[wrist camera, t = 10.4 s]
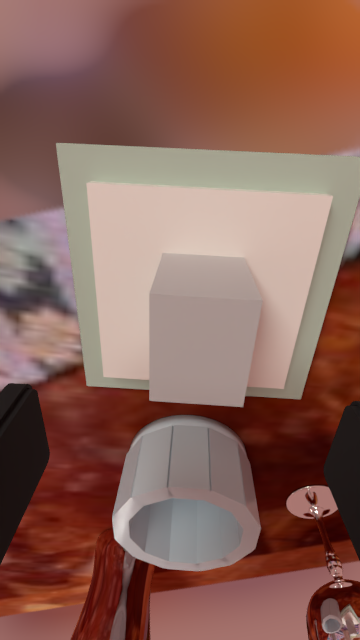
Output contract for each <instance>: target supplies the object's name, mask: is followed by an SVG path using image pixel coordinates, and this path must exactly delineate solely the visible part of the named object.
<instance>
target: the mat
mask: <svg viewBox="0 0 360 640" xmlns="http://www.w3.org/2000/svg"><path fill="white" fill-rule="evenodd" d="M56 147H57V156H58V163H59V171H60V179H61V187H62V194H63V203H64V211H65V218H66V226H67V234H68V242H69V250H70V258H71V266H72V273H73V281H74V289H75V297H76V305H77V313H78V321H79V328H80V336H81V344H82V352H83V360H84V368H85V375H86V383H87V386H98V387H114V388H129V389H145V390H149V380H140V379H125V378H110V377H103V366H102V354H101V343H100V332H99V321H98V309H97V298H96V287H95V275H94V264H93V253H92V242H91V230H90V219H89V208H88V196H87V185H86V183H88V182H91V181H95V182H114V183H133V184H151V185H170V186H189V187H208V188H227V189H245V190H264V191H283V192H302V193H321V194H329V195H332V196H333V199H332V203H331V207H330V211H329V215H328V218H327V222H326V226H325V230H324V234H323V238H322V242H321V246H320V250H319V253H318V257H317V261H316V265H315V269H314V273H313V277H312V281H311V284H310V288H309V292H308V296H307V300H306V304H305V308H304V312H303V315H302V319H301V323H300V327H299V331H298V335H297V339H296V343H295V347H294V350H293V354H292V358H291V362H290V366H289V370H288V374H287V378H286V381H285V385H284V389H277V388H262V387H247V388H246V394H245V396H255V397H271V398H287V399H301V397H302V393H303V390H304V386H305V383H306V379H307V376H308V373H309V369H310V366H311V362H312V359H313V355H314V352H315V349H316V345H317V342H318V338H319V335H320V331H321V328H322V324H323V321H324V318H325V314H326V311H327V307H328V304H329V300H330V297H331V294H332V290H333V287H334V283H335V280H336V276H337V273H338V270H339V266H340V263H341V259H342V256H343V252H344V249H345V246H346V242H347V239H348V235H349V232H350V228H351V225H352V222H353V218H354V215H355V211H356V208H357V204H358V201H359V198H360V157H352V156H330V155H308V154H286V153H285V154H284V153H265V152H243V151H221V150H200V149H198V150H197V149H178V148H155V147H135V146H111V145H90V144H69V143H56Z"/></svg>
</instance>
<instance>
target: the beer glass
mask: <svg viewBox="0 0 360 640" xmlns="http://www.w3.org/2000/svg"><path fill="white" fill-rule="evenodd" d="M155 566H156V565H153V564H150V563H148V562H145V561H142V560H140V559H137V558H135V557H133V556H132V555H131V554H130V553H129V552H128V551H127V550H126V549H125V548H123V547H122V546H121V545H120V544H119V543H118V542H117V541H116V540H115V539H114V531H113V528H112V529H108V530H106V531H104V532H103V533H101V534H100V535H99V537H98V539H97V542H96V549H95V560H94V569H93V575H92V580H91V585H90V588H89V591H88V595H87V598H86V601H85V603H84V606H83V609H82V611H81V614H80V616H79V619H78V622H77V624H76V627H75V629H74V632H73V634H72V637H71V640H150V591H151V584H152V579H153V574H154V570H155Z"/></svg>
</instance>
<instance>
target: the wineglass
mask: <svg viewBox="0 0 360 640" xmlns="http://www.w3.org/2000/svg"><path fill="white" fill-rule="evenodd" d="M286 507H287V509H288V510H289V512H290V513H292V514H293V515H295V516H297V517H301V518H306V519H315V520H316V522H317V524H318V527H319V530H320V533H321V536H322V540H323V543H324V548H325V554H326V565H327V568H328V570H329V572H330V574H331V575H332V576H333V577H334V581H331V582H329V583H327V584H325V585H323V586H322V587H320V588H319V589H318V590H317V591H316V592H315V593H314V594H313V596H312V597H311V599H310V602H309V605H308V609H307V615H306V621H307V631H308V639H309V640H360V582H358V581H354V580H346V579H343V578H342V575H343V569H342V565H341V562H340V560H339V558H338V556H337V555H336V553H335V551H334V549H333V547H332V545H331V543H330V541H329V538H328V535H327V532H326V529H325V526H324V523H323V517H325V516H328V515H330V514H332V513H334V512H335V511H336V510H337V509H338V508H337V505H336V503H335V501H334V498H333V496H332V493H331V491H330V489H329V487H328V486H324V485H310V486H305V487H302V488H299V489H297V490H295V491H294V492H292V493H291V494H290V495H289V496H288V498H287V500H286Z"/></svg>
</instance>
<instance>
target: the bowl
mask: <svg viewBox="0 0 360 640" xmlns="http://www.w3.org/2000/svg"><path fill="white" fill-rule="evenodd" d="M112 521H113V531H114V539H115V540H116V541H117V542H118V543H119V544H120V545H121V546H122V547H123V548H125V549H126V550H127V551H128V552H129V553H130V554H131V555H132V556H133V557H135V558H137V559H140V560H142V561H145V562H148V563H150V564H153V565H156V566H158V567H161V568H165V569H174V570H187V571H199V570H200V571H204V570H209V569H214V568H219V567H224V566H229V565H231V564H234V563H235V562H237V561H238V560H240V559H241V558H243V557H244V556H246V555H247V554H249V553H250V552H252V551H253V550H254V549H255V548H256V544H257V541H258V537H259V534H260V530H261V526H260V520H259V514H258V508H257V502H256V496H255V490H254V484H253V478H252V472H251V466H250V462H249V460H248V458H247V454H246V449H245V446H244V444H243V442H242V440H241V439H240V437H239V436H238V435H237V434H236V433H235V432H234V431H233V430H232V429H230V428H229V427H227V426H226V425H224V424H222V423H220V422H218V421H216V420H213V419H210V418H206V417H202V416H195V415H175V416H169V417H165V418H161V419H158V420H156V421H153V422H151V423H150V424H148V425H146V426H145V427H144V428H142V429H141V430H140V431H139V432H138V433H137V434H136V436H135V437H134V439H133V441H132V443H131V446H130V451H129V452H128V453H127V455H126V459H125V464H124V468H123V472H122V477H121V481H120V486H119V490H118V494H117V499H116V503H115V507H114V512H113V516H112Z"/></svg>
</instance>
